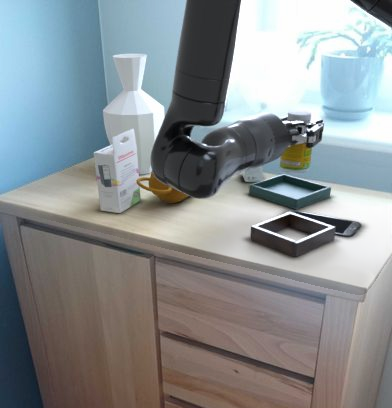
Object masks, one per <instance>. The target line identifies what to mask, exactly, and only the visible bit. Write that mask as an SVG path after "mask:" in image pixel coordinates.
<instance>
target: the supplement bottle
mask: <svg viewBox="0 0 392 408" xmlns="http://www.w3.org/2000/svg"><path fill="white" fill-rule="evenodd" d="M287 115H288V117H287V119H288V120H287V121H288V122H294V121H303V122H305V123H308V122H312V121H311V120H312V112H311V111H308V110H299V109H297V110H289V111H288V112H287ZM295 127H296V128H297V126H295ZM307 129H308V127H307V128H306V129H305V133H306V130H307ZM312 150H313V147H312V148H308V147H306V145H305V142H303V143H302V144H296V145H291V146H290V147H287V148H286V150H285V151H284V153H283V154H282V155H281V156H280V157H279V158H280V159H279V169H280V170H281V171H282V172H283V173H288V174H304V173H307V172H309V171H310V167H311V161H312V160H311V158H312Z"/></svg>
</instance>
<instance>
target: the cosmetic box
mask: <svg viewBox="0 0 392 408" xmlns="http://www.w3.org/2000/svg"><path fill="white" fill-rule="evenodd" d="M241 175H242V178H243V179H244V180H243V181H244V182H245V183H256V182H259V181H263V180H264V165H262V166H260V167H257V168H255V169H252V170H248V171H244V172H241Z"/></svg>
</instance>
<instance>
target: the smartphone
mask: <svg viewBox="0 0 392 408" xmlns="http://www.w3.org/2000/svg"><path fill="white" fill-rule="evenodd" d="M288 212H292V213H295V214H298V215H301V216H304V217H307V218H310V219H313V220H316V221H319V222H322V223H325V224H328V225H331V226H334V227H336V230H335V236H338V237H341V238H352V237H353V236H355V235H356V233H357V231H359V230H360V229H361V228H362V224H361V222H359V221H356V220H350V219H344V218H340V217H339V218H337V217H334V216H327V215H321V214H316V213H310V212H305V211H300V210H295V209H291V210H290V209H289V210H287V211H286V212H285V213H288ZM289 227H290V226H289ZM289 227H288V228H289ZM290 228H291V227H290Z"/></svg>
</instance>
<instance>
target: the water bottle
mask: <svg viewBox="0 0 392 408" xmlns="http://www.w3.org/2000/svg"><path fill="white" fill-rule="evenodd" d="M145 181H146V182H148V186H146V185H144V184H143V183H141V182H145ZM137 184H138V185H139V186H140V189H143V190H146V191H147V192H150V193H152V194H153V195H155V196H157V198H159V200H161V201H163V202H165V203H169V204H176V203H179V202H181V201H184V200H186V199H187V198H188V197H190V196H189V195H186V194H184V193H182V192H180V191H178V190H176V189H174V188H172V187H169V186H167V185H165V184H163V183H161V182H160V181H158V180H157V179H156V178H155V176H154V174H153V172H151V173H150V177H148V176H147V177H146V176H145V177H144V176H143V177H139V179H137Z"/></svg>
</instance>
